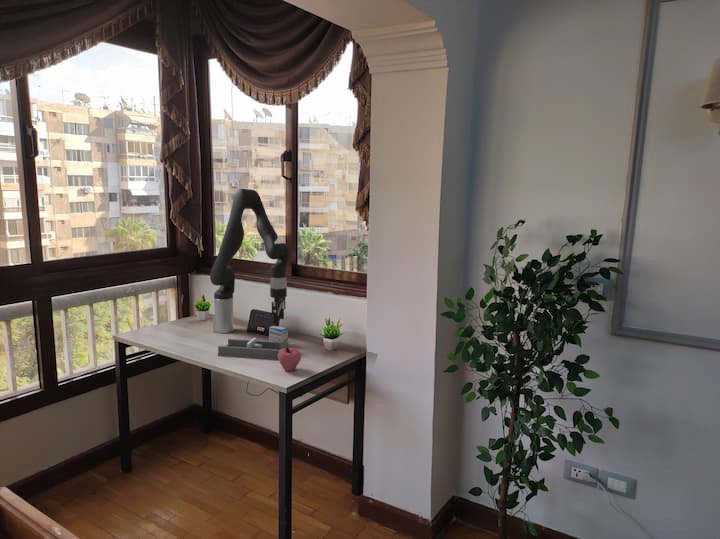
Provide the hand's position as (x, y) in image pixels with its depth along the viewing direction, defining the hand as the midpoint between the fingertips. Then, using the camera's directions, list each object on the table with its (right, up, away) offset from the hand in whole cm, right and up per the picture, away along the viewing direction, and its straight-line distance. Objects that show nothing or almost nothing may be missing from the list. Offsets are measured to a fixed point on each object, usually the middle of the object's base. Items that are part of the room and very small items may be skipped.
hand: (278, 321), depth 246 cm
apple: (+9, -17, -31) cm, 37 cm away
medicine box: (0, -12, +2) cm, 12 cm away
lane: (-9, -13, -11) cm, 20 cm away
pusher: (-8, -12, -11) cm, 18 cm away
